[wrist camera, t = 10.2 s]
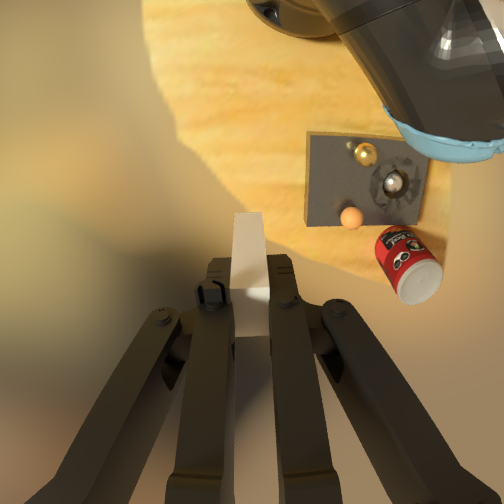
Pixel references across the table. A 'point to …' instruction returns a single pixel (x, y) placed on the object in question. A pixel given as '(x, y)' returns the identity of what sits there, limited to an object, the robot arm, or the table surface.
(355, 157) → the brass ball
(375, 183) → the bearing plate
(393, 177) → the steel ball
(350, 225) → the orange ball
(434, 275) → the canned food
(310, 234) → the table surface
